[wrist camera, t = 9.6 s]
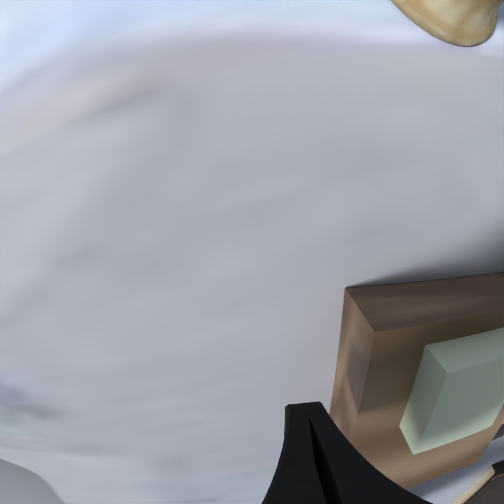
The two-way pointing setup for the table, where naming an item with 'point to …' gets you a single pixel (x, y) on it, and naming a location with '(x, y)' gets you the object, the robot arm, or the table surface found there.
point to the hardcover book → (486, 488)
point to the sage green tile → (455, 390)
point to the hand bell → (453, 18)
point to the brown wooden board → (406, 367)
